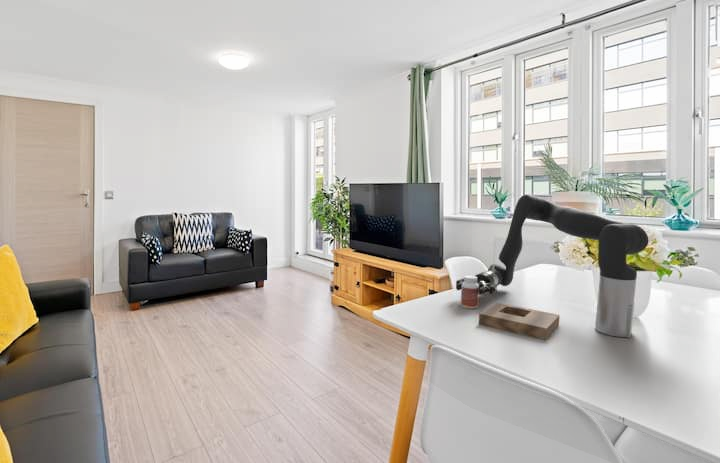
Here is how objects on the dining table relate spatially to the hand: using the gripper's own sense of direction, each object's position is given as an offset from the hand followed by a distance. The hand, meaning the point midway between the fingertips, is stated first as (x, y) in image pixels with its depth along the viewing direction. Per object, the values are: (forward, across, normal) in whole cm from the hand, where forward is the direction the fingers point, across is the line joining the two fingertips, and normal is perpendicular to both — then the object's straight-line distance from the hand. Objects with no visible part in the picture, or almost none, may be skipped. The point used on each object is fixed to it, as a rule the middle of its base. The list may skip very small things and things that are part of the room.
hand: (468, 289), depth 141 cm
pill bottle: (-1, 0, +7) cm, 7 cm away
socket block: (+7, +20, +7) cm, 22 cm away
